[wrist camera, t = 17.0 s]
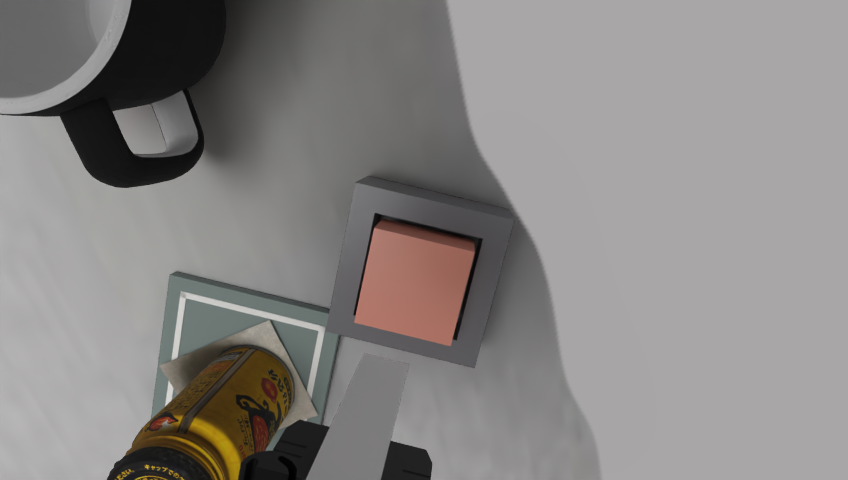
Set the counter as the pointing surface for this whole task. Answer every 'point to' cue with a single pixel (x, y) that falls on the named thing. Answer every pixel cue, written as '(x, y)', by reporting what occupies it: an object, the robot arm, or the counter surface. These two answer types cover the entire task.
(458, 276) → the button
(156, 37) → the mug
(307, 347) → the slate board
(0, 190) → the counter surface
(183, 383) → the condiment
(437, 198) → the button housing
